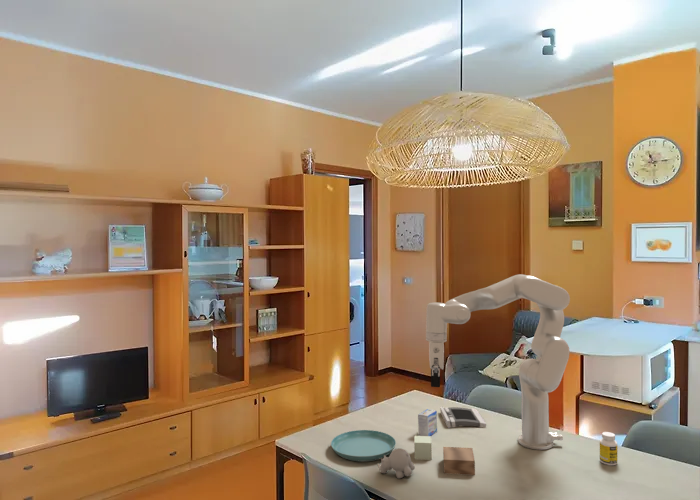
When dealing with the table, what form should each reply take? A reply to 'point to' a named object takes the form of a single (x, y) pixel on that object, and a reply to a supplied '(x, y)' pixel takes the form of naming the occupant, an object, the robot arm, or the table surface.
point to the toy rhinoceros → (397, 463)
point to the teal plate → (363, 445)
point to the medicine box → (427, 422)
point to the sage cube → (423, 447)
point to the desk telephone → (461, 417)
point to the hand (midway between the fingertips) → (435, 382)
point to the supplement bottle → (608, 449)
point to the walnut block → (458, 460)
